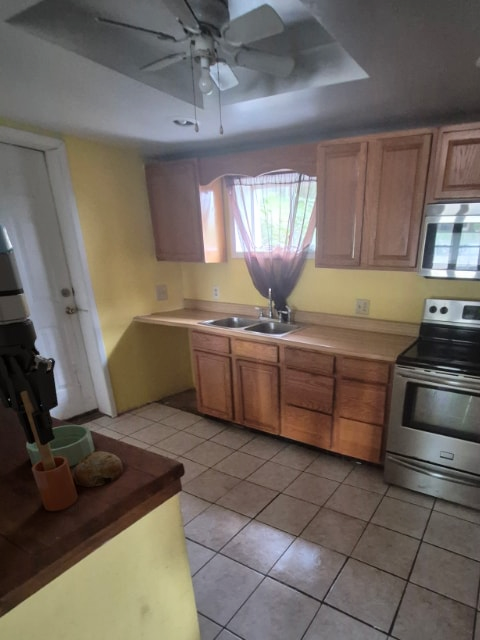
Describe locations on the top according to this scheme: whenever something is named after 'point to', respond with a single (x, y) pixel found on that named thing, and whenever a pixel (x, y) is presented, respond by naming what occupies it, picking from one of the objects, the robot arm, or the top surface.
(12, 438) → the top surface
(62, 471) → the crock
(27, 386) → the robot arm
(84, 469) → the bread roll
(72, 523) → the top surface
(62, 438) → the bowl
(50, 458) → the stirring stick
